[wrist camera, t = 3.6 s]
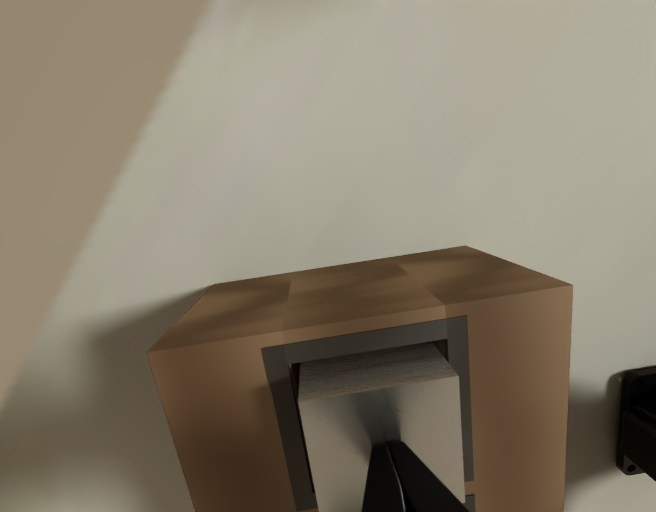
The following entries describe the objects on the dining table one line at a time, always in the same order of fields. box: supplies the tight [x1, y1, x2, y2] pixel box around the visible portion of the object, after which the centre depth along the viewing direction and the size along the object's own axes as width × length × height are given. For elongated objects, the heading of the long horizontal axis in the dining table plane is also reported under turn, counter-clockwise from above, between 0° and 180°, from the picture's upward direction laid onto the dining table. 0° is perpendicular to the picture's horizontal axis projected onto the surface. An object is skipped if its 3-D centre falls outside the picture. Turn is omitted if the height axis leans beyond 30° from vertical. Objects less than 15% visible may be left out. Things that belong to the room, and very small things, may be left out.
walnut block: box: [146, 246, 573, 512], centre depth 13 cm, size 12×13×6 cm
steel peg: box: [298, 341, 465, 512], centre depth 11 cm, size 4×4×6 cm
